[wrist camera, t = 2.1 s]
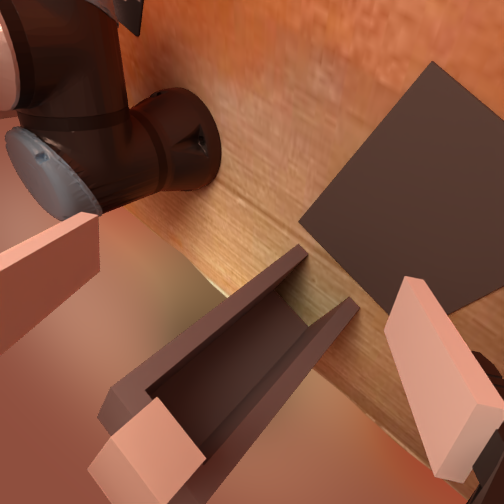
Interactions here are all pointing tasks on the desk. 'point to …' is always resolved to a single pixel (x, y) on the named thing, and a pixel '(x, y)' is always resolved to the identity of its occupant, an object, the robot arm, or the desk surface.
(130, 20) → the solid state drive
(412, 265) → the mat
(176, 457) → the pale pink long block
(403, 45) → the desk surface
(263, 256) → the desk surface
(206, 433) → the tall stand
